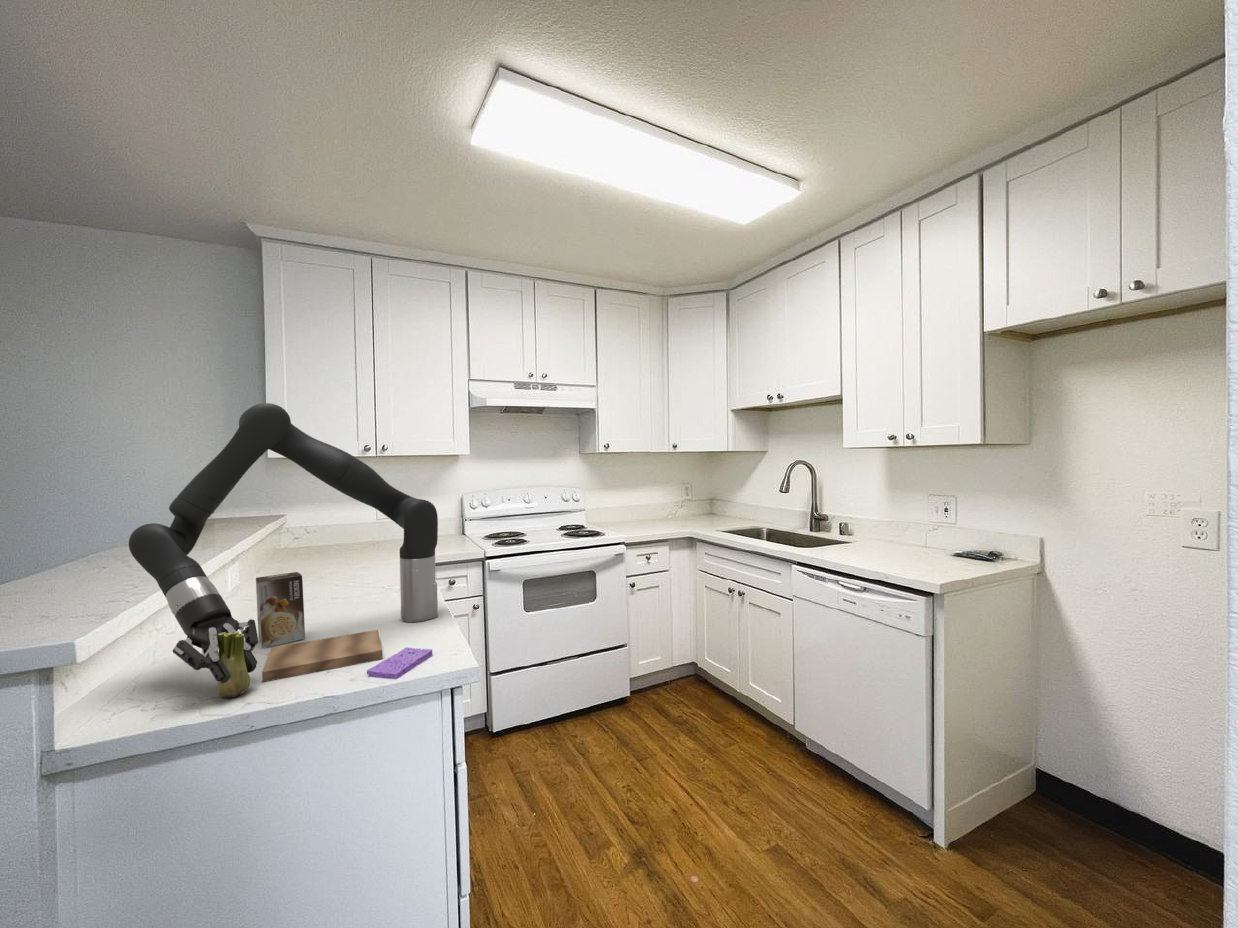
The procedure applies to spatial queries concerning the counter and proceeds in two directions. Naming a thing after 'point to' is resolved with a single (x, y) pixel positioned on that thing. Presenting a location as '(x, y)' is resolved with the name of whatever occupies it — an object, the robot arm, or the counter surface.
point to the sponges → (399, 663)
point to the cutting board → (322, 655)
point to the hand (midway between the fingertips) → (239, 674)
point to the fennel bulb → (233, 664)
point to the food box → (280, 609)
